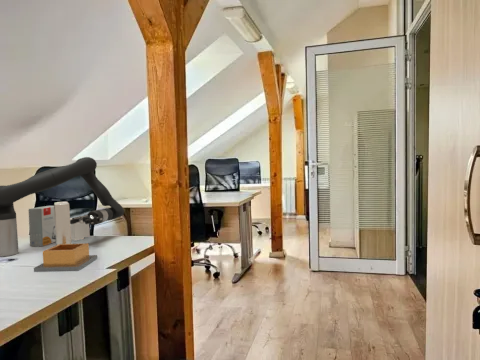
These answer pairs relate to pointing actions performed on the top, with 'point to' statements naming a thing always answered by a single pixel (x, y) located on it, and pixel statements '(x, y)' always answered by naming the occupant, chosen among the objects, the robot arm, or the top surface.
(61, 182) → the robot arm
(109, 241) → the top surface
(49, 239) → the hard drive box
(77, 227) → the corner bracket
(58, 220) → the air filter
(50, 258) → the dock
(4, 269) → the top surface
